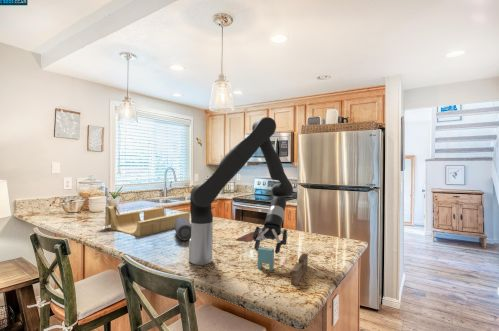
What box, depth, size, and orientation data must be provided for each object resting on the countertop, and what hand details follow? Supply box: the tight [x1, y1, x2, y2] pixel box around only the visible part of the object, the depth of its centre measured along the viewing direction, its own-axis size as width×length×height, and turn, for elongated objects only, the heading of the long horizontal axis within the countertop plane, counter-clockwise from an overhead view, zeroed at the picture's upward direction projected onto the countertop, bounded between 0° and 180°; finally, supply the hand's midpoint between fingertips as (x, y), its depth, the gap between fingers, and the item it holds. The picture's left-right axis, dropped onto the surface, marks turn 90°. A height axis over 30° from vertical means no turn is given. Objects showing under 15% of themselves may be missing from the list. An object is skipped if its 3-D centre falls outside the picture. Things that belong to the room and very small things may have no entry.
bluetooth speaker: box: [174, 217, 191, 241], centre depth 153 cm, size 23×9×10 cm, turn 19°
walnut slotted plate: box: [290, 252, 309, 286], centre depth 102 cm, size 2×20×5 cm, turn 158°
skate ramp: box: [104, 202, 191, 237], centre depth 179 cm, size 40×35×16 cm
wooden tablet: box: [235, 230, 262, 243], centre depth 157 cm, size 27×10×2 cm, turn 147°
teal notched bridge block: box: [257, 246, 275, 272], centre depth 108 cm, size 6×2×8 cm, turn 67°
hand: (266, 251), depth 108 cm, fingers open, 8 cm apart
